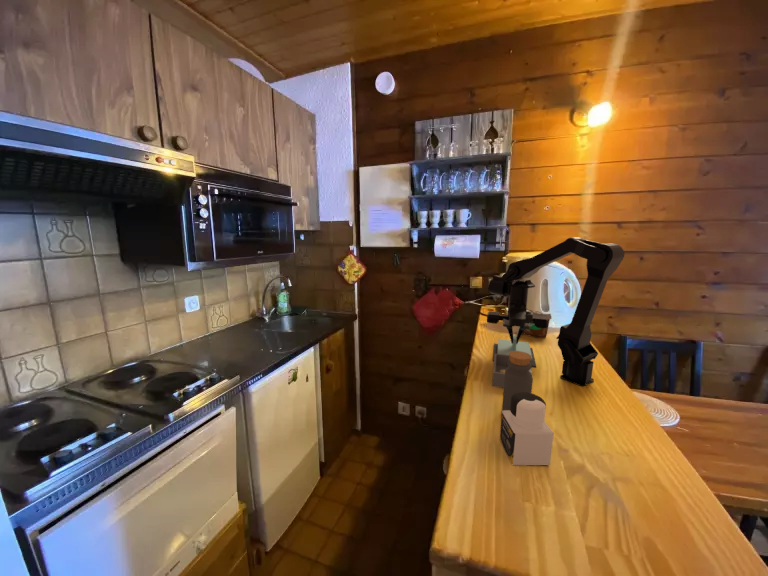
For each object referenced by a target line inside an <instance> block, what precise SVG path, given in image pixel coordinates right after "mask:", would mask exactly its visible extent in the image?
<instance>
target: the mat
mask: <svg viewBox="0 0 768 576" xmlns="http://www.w3.org/2000/svg"><path fill="white" fill-rule="evenodd" d="M530 350H531V354H532V360H530V363H531V364H532V366H531V368H537V363H536V358H535V355H534V351H533V350H534V349H533V347H530ZM497 353H498V343H494V345H493V353H492V362H494V356H495V354H497Z"/></svg>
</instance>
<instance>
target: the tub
mask: <svg viewBox="0 0 768 576" xmlns="http://www.w3.org/2000/svg"><path fill="white" fill-rule="evenodd" d="M508 359H510V358H509V355H502V354H495V356H494V361H493V369H492V370H493V371H492V385H491V387H497V388H503V389H504V377H505V370H506V369H507V368H509V366H508V365H507V361H508ZM528 371H529V372H530V373H531V374H532V375H533V372H532V368H531V369H530V370H528ZM533 380H534V378H533V376H532V383H533ZM532 391H533V384H532V385H531V393H532Z"/></svg>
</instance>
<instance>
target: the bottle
mask: <svg viewBox="0 0 768 576" xmlns="http://www.w3.org/2000/svg"><path fill="white" fill-rule="evenodd" d="M509 358H510V359H508V361H507V365H508V366H509V368H507V369H506V370H505V377H504V388H503V393H502V404H501V406H502V408H501V412H502V411H503V410H510V406H511V397H512V395H513V394H515V393H517V392H528V393H532V392H531V385H532V386H533V382H532V377H533V373H532V374H531V373H530V372H529V371H528V370H530V369H531V370H532V367H531V366H532V364H531V363H530V360H531V355H529V354H528V353H525V352H521V351H512V352H510V353H509Z"/></svg>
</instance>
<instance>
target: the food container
mask: <svg viewBox="0 0 768 576" xmlns="http://www.w3.org/2000/svg"><path fill="white" fill-rule="evenodd" d="M526 311H527V312H533V317H534V315H540V316H545V317H546V318H547V320H548V328H537V327H536V326H535V324H532V323H530V325H529V327H530V328H529V329H526V330H525V331H524V332H523V334H524V333H525V334H524V335H525V336H529V337H532V338H540V339H541V338H542V339H543V338H547V335H548V332H549V331H548V330H549V325H550V320H552V314H551V313H542V312H540V311H537V310H531V309H528V308H527V309H526Z"/></svg>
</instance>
